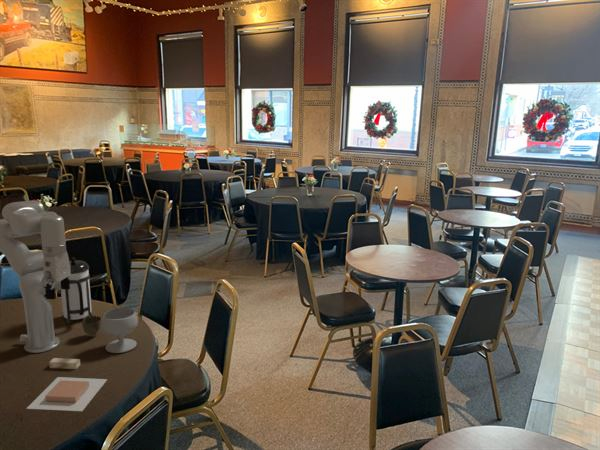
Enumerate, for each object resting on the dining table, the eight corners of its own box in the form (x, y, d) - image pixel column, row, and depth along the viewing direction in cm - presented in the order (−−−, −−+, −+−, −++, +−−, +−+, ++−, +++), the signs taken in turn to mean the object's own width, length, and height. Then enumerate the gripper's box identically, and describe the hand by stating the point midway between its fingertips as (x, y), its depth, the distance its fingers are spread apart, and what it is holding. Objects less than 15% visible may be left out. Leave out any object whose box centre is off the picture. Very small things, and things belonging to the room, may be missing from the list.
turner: (48, 373, 164) (47, 363, 163) (56, 365, 169) (55, 356, 168) (93, 375, 163) (92, 365, 162) (100, 367, 168) (99, 358, 168)
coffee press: (50, 323, 202) (44, 260, 196) (75, 309, 218) (70, 251, 211) (83, 328, 199) (78, 264, 192) (106, 314, 214) (102, 254, 207)
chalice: (135, 354, 179) (133, 319, 175) (99, 356, 177) (96, 321, 173) (141, 337, 192) (140, 305, 189) (107, 339, 190) (105, 306, 187)
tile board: (26, 412, 142) (26, 408, 141) (58, 380, 159) (57, 377, 159) (82, 415, 141) (82, 411, 141) (107, 383, 159) (107, 379, 159)
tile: (60, 385, 154) (45, 401, 145) (60, 380, 153) (45, 395, 145) (89, 387, 154) (76, 403, 145) (89, 381, 153) (75, 397, 144)
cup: (87, 332, 196) (85, 315, 194) (104, 331, 196) (103, 315, 195) (80, 340, 189) (78, 322, 187) (98, 340, 189) (97, 322, 187)
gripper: (51, 257, 152) (55, 303, 156) (77, 243, 169) (80, 285, 173) (29, 256, 152) (34, 302, 156) (57, 242, 169) (61, 285, 173)
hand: (58, 293), depth 165 cm, fingers open, 9 cm apart
